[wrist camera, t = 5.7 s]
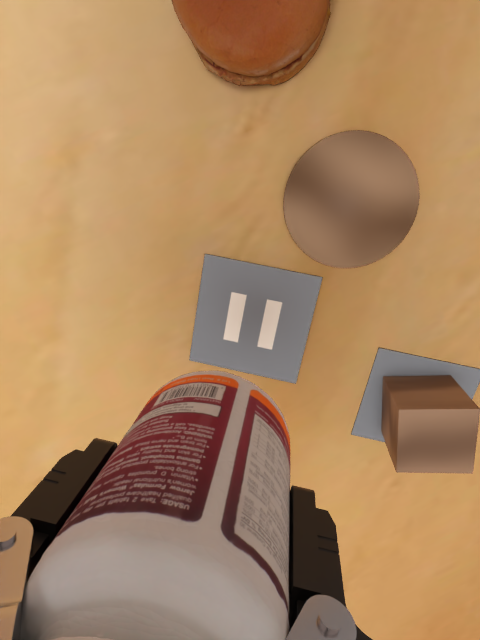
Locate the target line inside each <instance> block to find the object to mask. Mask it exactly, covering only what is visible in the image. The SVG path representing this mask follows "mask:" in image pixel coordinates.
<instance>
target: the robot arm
mask: <svg viewBox="0 0 480 640" xmlns="http://www.w3.org/2000/svg"><path fill="white" fill-rule="evenodd" d="M116 448H117V443H115V442H110V441H106V440H102V439H98V438H95V439H94V440H93V441H92V442H91V443H90V444H89V446H88V447H87V448H86V449H85V451H80V450H74V451H72V452H71V453H69V454H67V455H65V456H64V457H62V458H61V459H60V460H59V461H58V462H57V464H56V465H55V466H54V467H53V468H52V470H51V471H50V472H49V473H48V474H47V475H46V476H45V477H44V479H43V481H41V482H40V483H39V484H38V485H37V487H36V488H35V489H34V490H33V491H32V492H31V493H30V495H29V496H28V497H27V498H26V499H25V500H24V501H23V503H22V504H21V505H20V506H19V507H18V508H17V509H16V511H15V512H14V513H13V514H12V515H11V516H10V517H4V518H1V519H0V640H21V621H22V609H23V599H24V593H25V587H26V584H27V582H28V580H29V578H30V576H31V574H32V572H33V570H34V569H35V567H36V565H37V564H38V562H39V561H40V559H41V557H42V555H43V553H44V552H45V551H46V549H47V548H48V546H49V545H50V544H51V542H52V541H53V540H54V538H55V537H56V535H57V534H58V532H59V531H60V529H61V528H62V526H63V525H64V524H65V522H66V520H67V519H68V518H69V517H70V515H71V514H72V512H73V511H74V509H75V508H76V506H77V505H78V504H79V502H80V501H81V499H82V498H83V496H84V495H85V493H86V492H87V490H88V489H89V488H90V486H91V485H92V483H93V482H94V480H95V479H96V478H97V476H98V474H99V473H100V471H101V470H102V469H103V467H104V466H105V464H106V462H107V461H108V460H109V458H110V457H111V455H112V454H113V452H114V451H115V449H116ZM289 625H290V630H289V634H288V636H287V638H286V640H372V639H371V638H369V637H368V636H367V635H365V634H364V633H363V632H362V631H361V630H360V629H359V628H358V627H357V626H356V624H355V622H354V620H353V617H352V616H351V614H350V612H349V611H348V610H347V608H346V604H345V598H344V590H343V582H342V574H341V565H340V557H339V549H338V543H337V533H336V525H335V523H334V522H333V520H332V518H331V516H330V514H329V512H328V511H326V510H322V509H318V508H316V506H315V493H314V490H310V489H305V488H301V487H297V486H292V487H291V490H290V531H289Z"/></svg>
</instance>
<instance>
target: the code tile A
mask: <svg viewBox="0 0 480 640" xmlns="http://www.w3.org/2000/svg"><path fill="white" fill-rule="evenodd" d="M321 281H322V277H318V276H313V275H308V274H303V273H298V272H293V271H288V270H283V269H278V268H273V267H268V266H263V265H258V264H253V263H248V262H243V261H239V260H234V259H229V258H224V257H219V256H214V255H209V254H205V257H204V264H203V271H202V278H201V284H200V291H199V298H198V305H197V312H196V318H195V325H194V332H193V339H192V346H191V352H190V359H189V360H191V361H195V362H200V363H204V364H209V365H213V366H218V367H222V368H227V369H231V370H236V371H240V372H245V373H250V374H254V375H259V376H263V377H268V378H272V379H277V380H281V381H286V382H290V383H295V384H296V381H297V377H298V373H299V369H300V365H301V361H302V357H303V353H304V349H305V345H306V341H307V337H308V333H309V329H310V325H311V321H312V317H313V313H314V309H315V305H316V301H317V297H318V293H319V289H320V285H321Z"/></svg>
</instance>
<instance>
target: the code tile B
mask: <svg viewBox="0 0 480 640" xmlns="http://www.w3.org/2000/svg"><path fill="white" fill-rule="evenodd" d="M431 375H451V376H452V377H453V378H454V380H455V381H456V382H457V383H458V384H459V385H460V387H461V388H462V389H463V390H464V391H465V392H466V393H467V395H468V396H469V397H470V398H471V399H473V396H474V394H475V392H476V389H477V387H478V385H479V382H480V369H477V368H473V367H468V366H463V365H458V364H454V363H449V362H444V361H439V360H435V359H430V358H425V357H420V356H416V355H411V354H406V353H401V352H397V351H392V350H387V349H382V348H379V349H378V352H377V355H376V358H375V361H374V364H373V367H372V371H371V374H370V377H369V380H368V383H367V386H366V389H365V392H364V396H363V399H362V402H361V405H360V408H359V411H358V414H357V418H356V421H355V424H354V427H353V430H352V433H351V435H355V436H360V437H364V438H369V439H373V440H377V441H382V442H385V440H384V437H383V435H382V432H381V424H382V387H383V376H431Z"/></svg>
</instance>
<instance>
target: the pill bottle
mask: <svg viewBox="0 0 480 640" xmlns="http://www.w3.org/2000/svg"><path fill="white" fill-rule="evenodd" d="M289 531H290V438H289V432H288V428H287V425H286V422H285V419H284V417H283V414H282V413H281V411H280V409H279V408H278V406H277V405H276V403H275V402H274V401H273V400H272V398H271V397H270V396H269V395H268V394H267V393H265V392H264V391H263V390H262V389H260V388H259V387H258V386H256V385H255V384H253V383H251V382H250V381H248V380H246V379H244V378H241V377H239V376H236V375H233V374H230V373H227V372H221V371H199V372H192V373H189V374H185V375H182V376H179V377H177V378H175V379H173V380H171V381H170V382H168V383H167V384H165V385H164V386H163V387H161V388H160V389H159V390H158V391H157V392H156V393H155V394H154V395H153V396H152V398H151V399H150V400H149V401H148V403H147V404H146V405H145V407H144V408H143V410H142V411H141V413H140V414H139V416H138V417H137V419H136V420H135V422H134V423H133V425H132V426H131V428H130V429H129V430H128V432H127V433H126V434H125V436H124V438H123V439H122V441H121V442H120V444H119V445H118V446H117V448H116V449H115V451H114V452H113V454H112V455H111V457H110V458H109V460H108V461H107V462H106V464H105V466H104V467H103V469H102V470H101V471H100V473H99V474H98V476H97V478H96V479H95V480H94V482H93V483H92V485H91V486H90V488H89V489H88V490H87V492H86V493H85V495H84V496H83V498H82V499H81V501H80V502H79V504H78V505H77V506H76V508H75V509H74V511H73V512H72V514H71V515H70V517H69V518H68V519H67V520H66V522H65V524H64V525H63V526H62V528H61V529H60V531H59V532H58V534H57V535H56V537H55V538H54V540H53V541H52V542H51V544H50V545H49V546H48V548H47V549H46V551H45V552H44V553H43V555H42V557H41V559H40V561H39V562H38V564H37V565H36V567H35V569H34V570H33V572H32V574H31V576H30V578H29V580H28V582H27V584H26V587H25V593H24V599H23V609H22V621H21V640H286V638H287V636H288V634H289V630H290V625H289Z"/></svg>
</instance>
